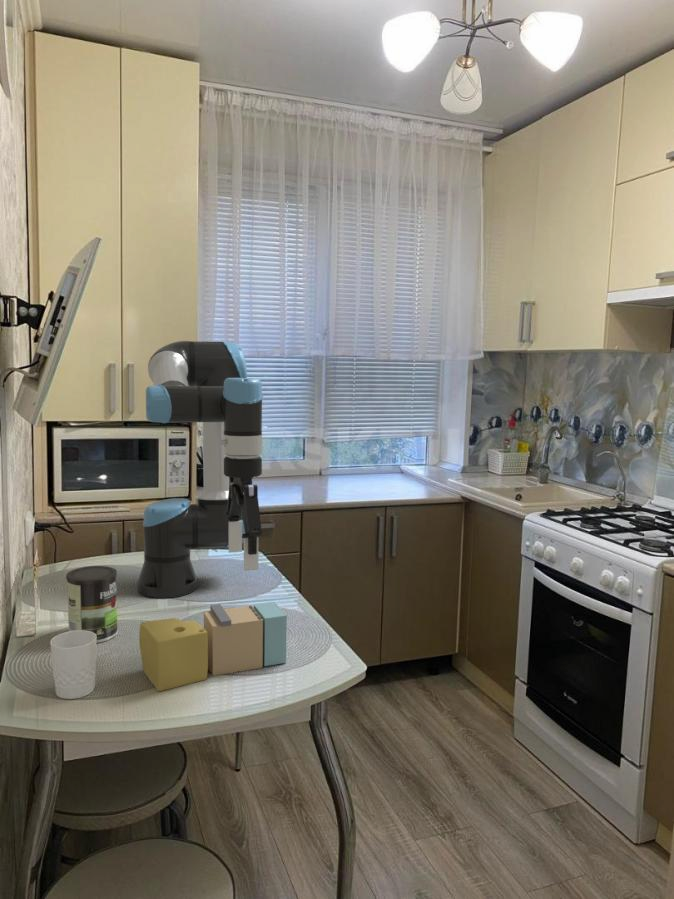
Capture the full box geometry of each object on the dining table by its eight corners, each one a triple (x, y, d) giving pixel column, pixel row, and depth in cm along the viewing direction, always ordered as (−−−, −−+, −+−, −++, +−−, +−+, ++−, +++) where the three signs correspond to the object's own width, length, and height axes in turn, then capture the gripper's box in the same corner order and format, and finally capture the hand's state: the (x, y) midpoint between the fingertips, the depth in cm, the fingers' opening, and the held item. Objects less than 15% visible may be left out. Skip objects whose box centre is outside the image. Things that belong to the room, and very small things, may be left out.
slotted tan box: (203, 657, 140) (203, 606, 138) (250, 649, 144) (250, 600, 142) (213, 677, 131) (213, 622, 130) (263, 668, 135) (263, 616, 134)
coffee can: (126, 627, 154) (125, 567, 151) (102, 646, 144) (100, 582, 141) (85, 623, 156) (83, 563, 153) (58, 641, 146) (56, 578, 143)
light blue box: (253, 649, 143) (253, 604, 142) (273, 646, 145) (274, 601, 144) (264, 666, 136) (265, 618, 135) (285, 662, 138) (286, 615, 136)
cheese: (190, 659, 139) (189, 612, 138) (210, 681, 130) (210, 631, 129) (139, 670, 133) (138, 622, 132) (156, 694, 124) (156, 642, 123)
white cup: (91, 700, 122) (89, 647, 120) (45, 701, 121) (43, 648, 120) (102, 679, 129) (101, 629, 128) (60, 680, 129) (58, 630, 127)
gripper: (211, 449, 145) (212, 546, 148) (238, 465, 122) (238, 580, 124) (246, 448, 148) (246, 543, 150) (278, 463, 125) (278, 576, 127)
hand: (242, 560), depth 137 cm, fingers open, 13 cm apart
